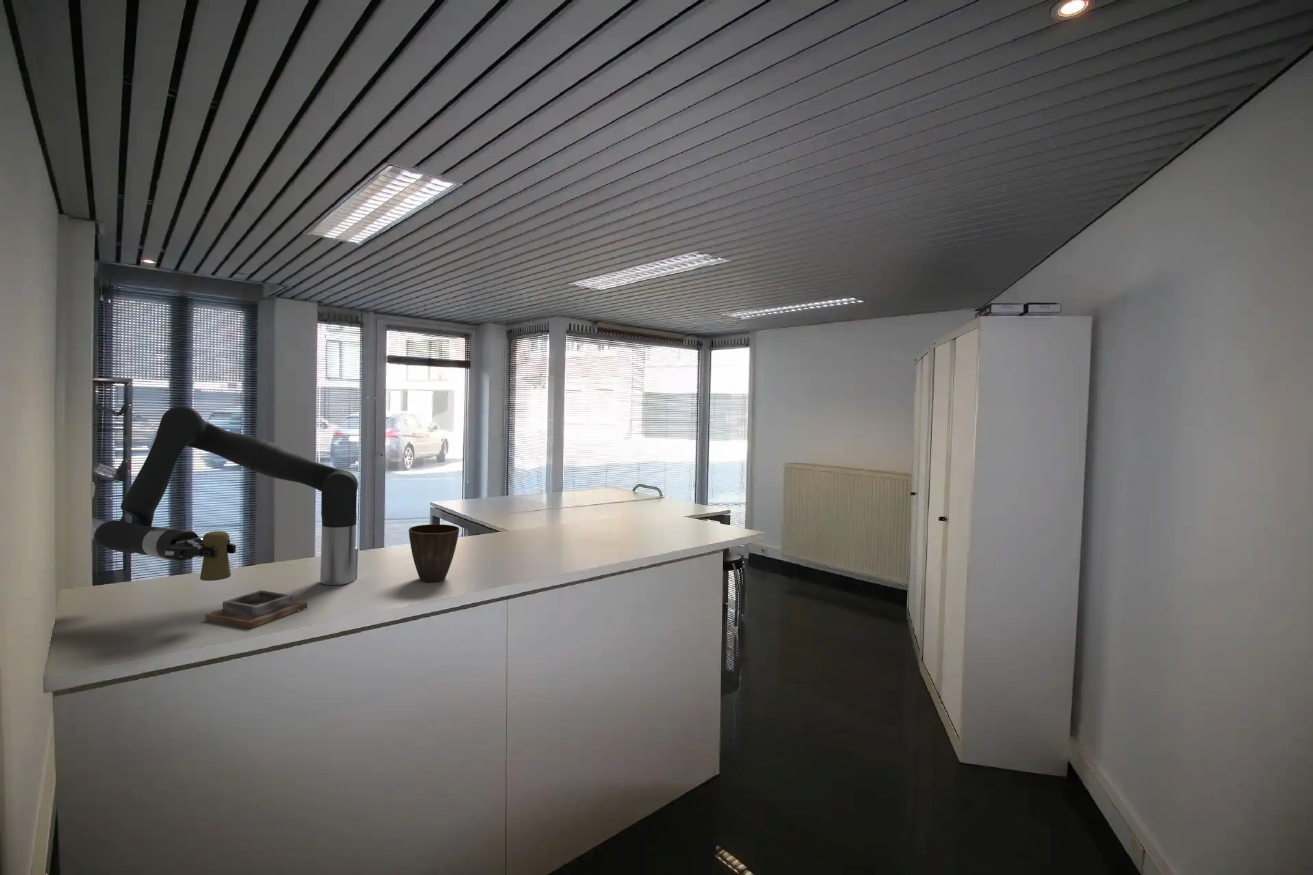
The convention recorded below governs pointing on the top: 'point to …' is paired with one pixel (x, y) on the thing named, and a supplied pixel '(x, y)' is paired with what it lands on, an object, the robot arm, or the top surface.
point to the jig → (255, 609)
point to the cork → (220, 564)
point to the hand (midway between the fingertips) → (225, 551)
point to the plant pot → (433, 550)
